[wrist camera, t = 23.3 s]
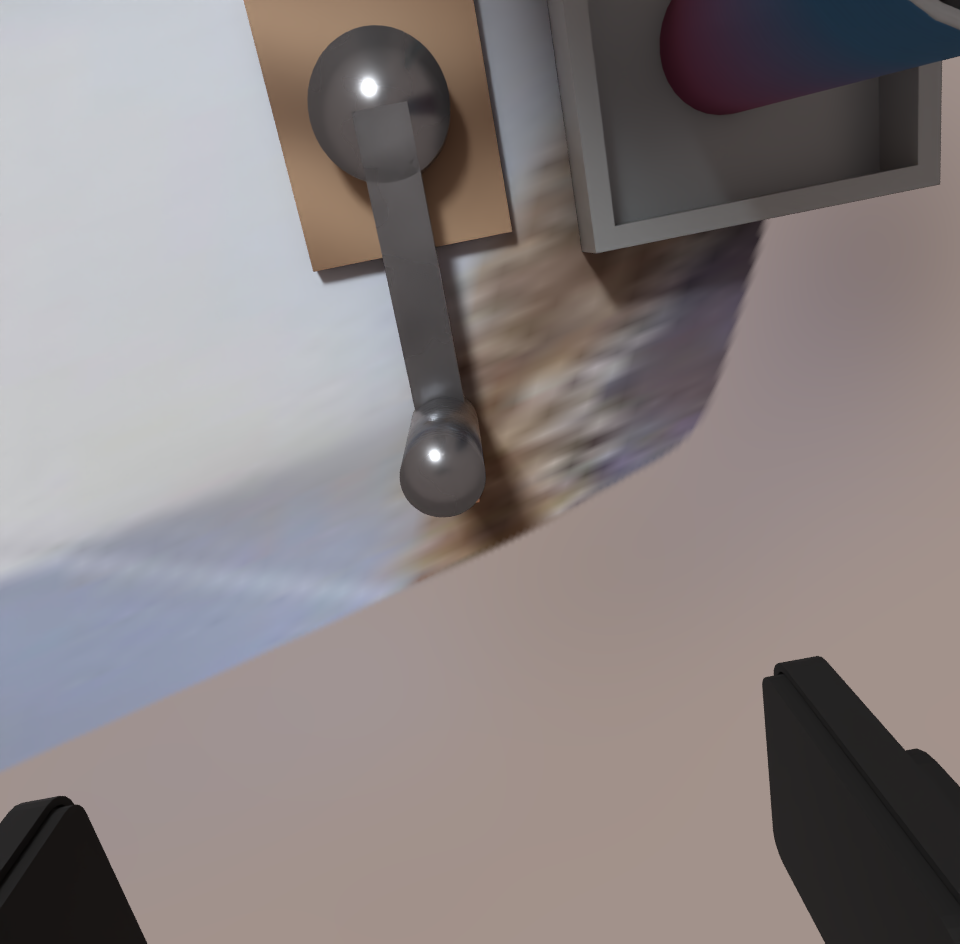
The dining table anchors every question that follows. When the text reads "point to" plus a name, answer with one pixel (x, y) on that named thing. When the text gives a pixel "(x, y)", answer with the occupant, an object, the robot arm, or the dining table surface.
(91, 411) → the dining table surface
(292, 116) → the crank base
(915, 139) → the tray
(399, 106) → the crank
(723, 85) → the cup
